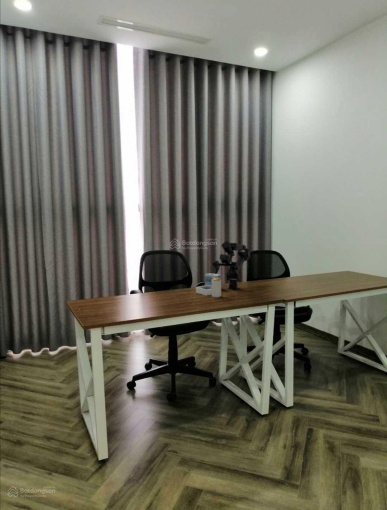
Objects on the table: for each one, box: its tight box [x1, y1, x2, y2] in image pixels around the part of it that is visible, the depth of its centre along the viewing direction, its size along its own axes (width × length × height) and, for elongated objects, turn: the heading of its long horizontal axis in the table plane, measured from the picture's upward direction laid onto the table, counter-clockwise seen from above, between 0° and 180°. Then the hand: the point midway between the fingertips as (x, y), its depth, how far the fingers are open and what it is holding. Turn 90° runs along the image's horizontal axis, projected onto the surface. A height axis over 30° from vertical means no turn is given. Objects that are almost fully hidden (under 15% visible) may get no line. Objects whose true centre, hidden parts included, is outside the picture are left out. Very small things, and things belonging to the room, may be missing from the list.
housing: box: [195, 285, 212, 297], centre depth 258 cm, size 12×12×4 cm
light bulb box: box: [204, 272, 222, 286], centre depth 273 cm, size 11×7×11 cm, turn 62°
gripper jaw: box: [211, 278, 222, 298], centre depth 247 cm, size 5×5×12 cm
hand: (221, 274), depth 253 cm, fingers open, 9 cm apart
